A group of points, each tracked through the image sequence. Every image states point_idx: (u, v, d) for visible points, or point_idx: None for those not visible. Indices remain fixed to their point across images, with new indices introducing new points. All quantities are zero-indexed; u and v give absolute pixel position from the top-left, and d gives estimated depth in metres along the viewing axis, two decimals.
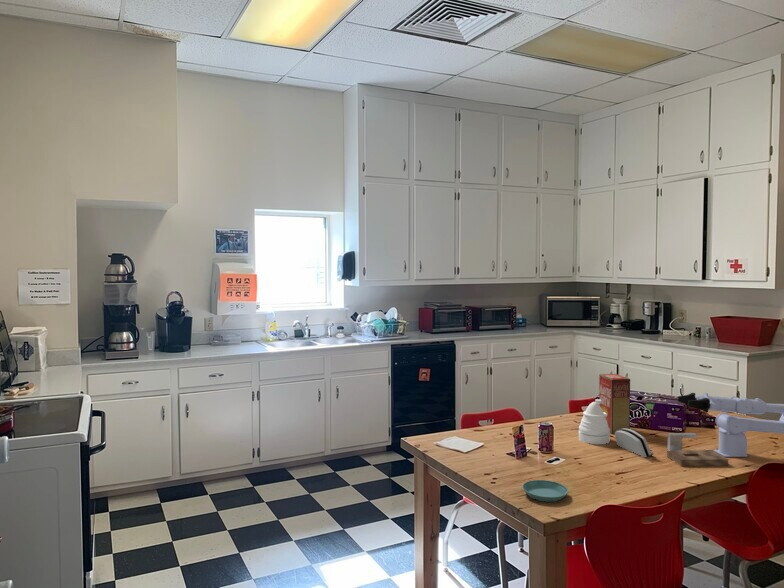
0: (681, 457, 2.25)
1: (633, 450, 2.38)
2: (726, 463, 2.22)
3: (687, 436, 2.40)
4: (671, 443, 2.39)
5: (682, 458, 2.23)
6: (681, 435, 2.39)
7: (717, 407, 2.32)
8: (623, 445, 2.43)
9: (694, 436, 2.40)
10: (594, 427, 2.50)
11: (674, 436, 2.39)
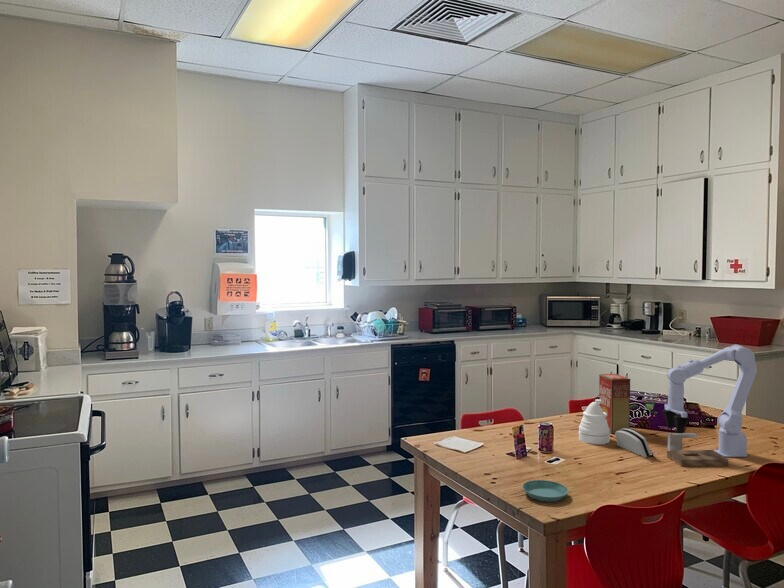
0: (681, 457, 2.25)
1: (633, 450, 2.38)
2: (726, 463, 2.22)
3: (687, 436, 2.39)
4: (671, 443, 2.39)
5: (682, 458, 2.23)
6: (681, 435, 2.39)
7: (681, 401, 2.37)
8: (623, 445, 2.43)
9: (694, 436, 2.40)
10: (594, 427, 2.50)
11: (674, 436, 2.39)
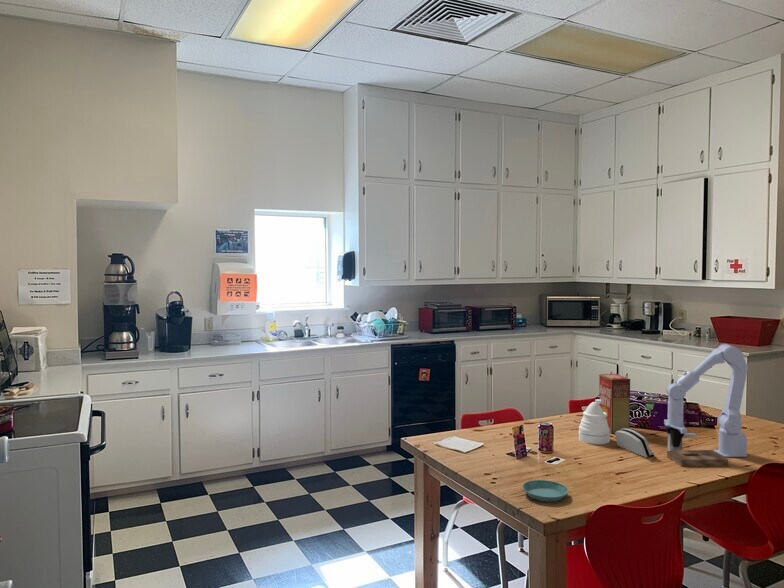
0: (681, 457, 2.25)
1: (633, 450, 2.38)
2: (726, 463, 2.22)
3: (687, 436, 2.39)
4: (671, 443, 2.39)
5: (682, 458, 2.23)
6: None
7: (681, 417, 2.37)
8: (623, 445, 2.43)
9: (694, 436, 2.40)
10: (594, 427, 2.50)
11: None
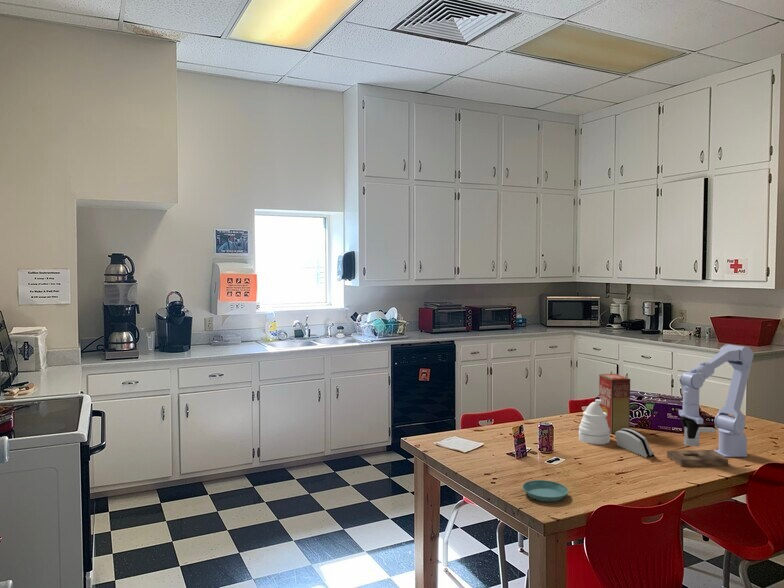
0: (681, 457, 2.25)
1: (633, 450, 2.38)
2: (726, 463, 2.22)
3: (705, 430, 2.28)
4: (688, 437, 2.28)
5: (682, 458, 2.23)
6: (699, 429, 2.28)
7: (696, 407, 2.25)
8: (623, 445, 2.43)
9: (712, 431, 2.28)
10: (594, 427, 2.50)
11: None
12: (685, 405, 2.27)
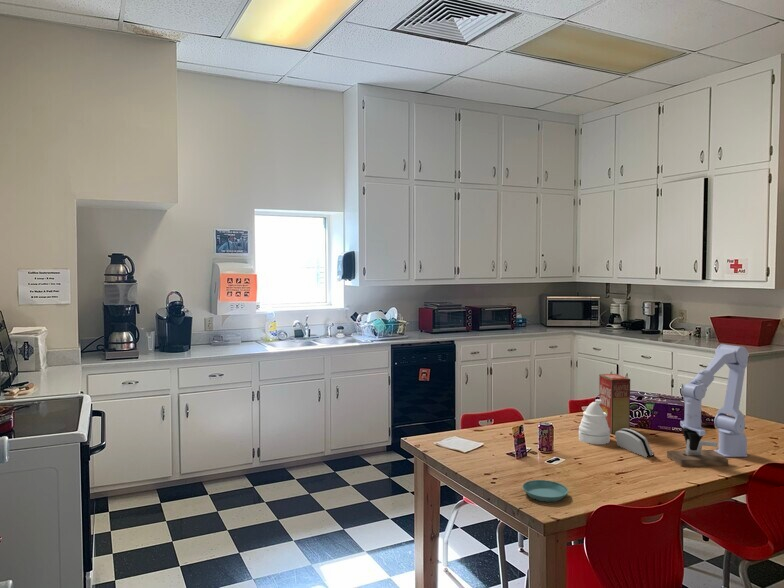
0: (681, 457, 2.25)
1: (634, 450, 2.38)
2: (726, 463, 2.22)
3: (707, 444, 2.26)
4: (690, 449, 2.26)
5: (682, 458, 2.23)
6: (701, 442, 2.26)
7: (698, 418, 2.24)
8: (623, 445, 2.43)
9: (715, 445, 2.27)
10: (594, 427, 2.50)
11: None
12: (687, 417, 2.26)
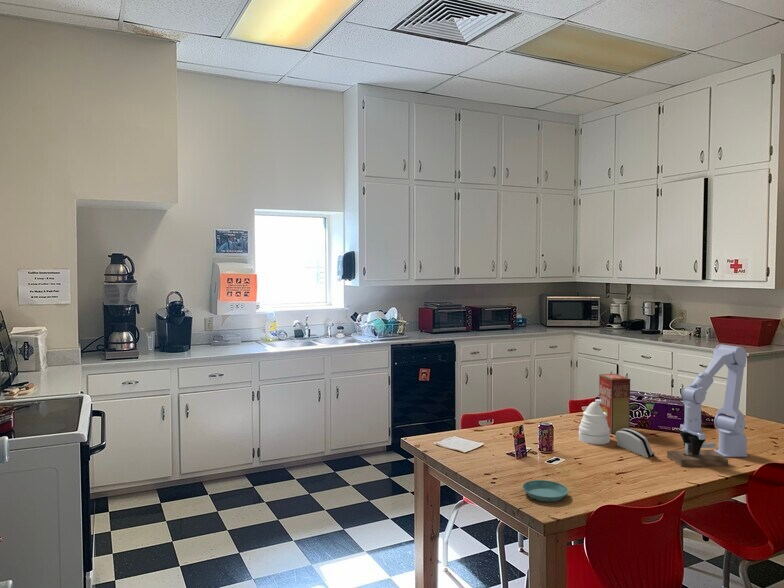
0: (681, 457, 2.25)
1: (634, 450, 2.38)
2: (726, 463, 2.22)
3: (705, 446, 2.27)
4: (689, 453, 2.26)
5: (682, 458, 2.23)
6: None
7: (698, 422, 2.24)
8: (624, 445, 2.43)
9: (713, 446, 2.27)
10: (594, 427, 2.50)
11: None
12: (687, 420, 2.26)
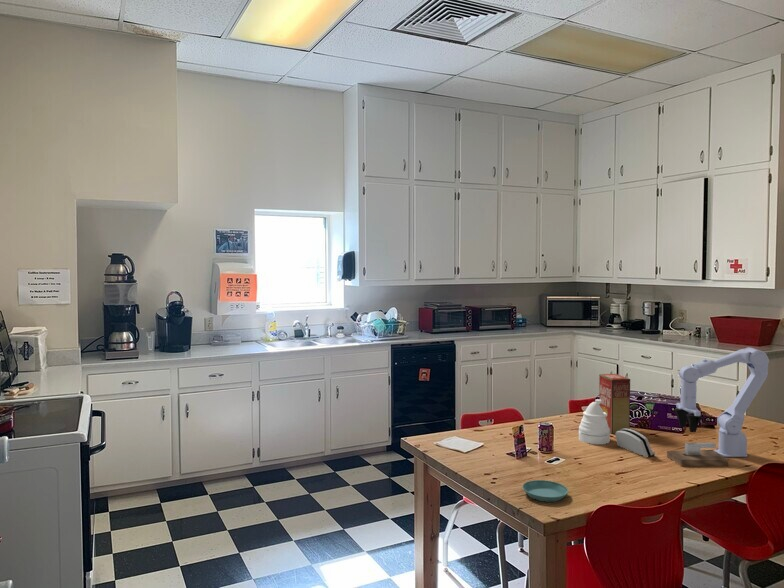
0: (681, 457, 2.25)
1: (634, 450, 2.38)
2: (726, 463, 2.22)
3: (705, 446, 2.27)
4: (689, 453, 2.26)
5: (682, 458, 2.23)
6: (699, 445, 2.26)
7: (694, 400, 2.35)
8: (624, 445, 2.43)
9: (713, 446, 2.27)
10: (594, 427, 2.50)
11: (692, 446, 2.26)
12: (683, 398, 2.37)
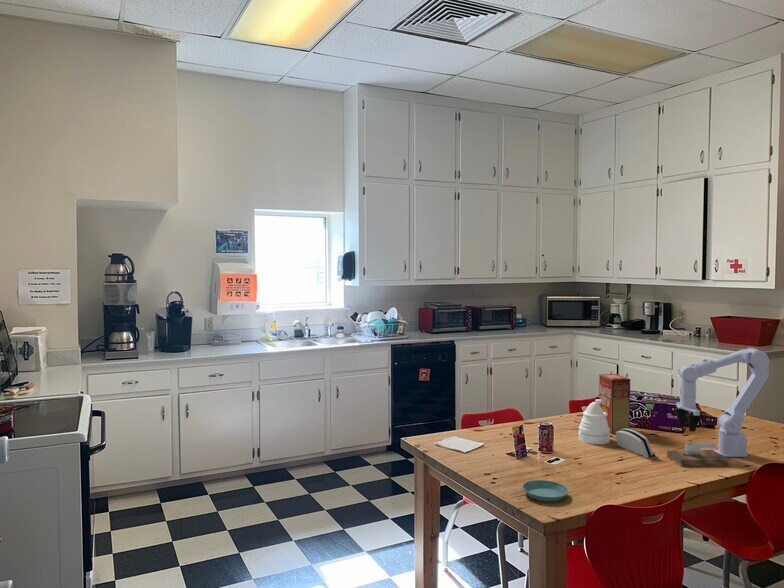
0: (681, 457, 2.25)
1: (634, 450, 2.37)
2: (726, 463, 2.22)
3: (705, 446, 2.27)
4: (689, 453, 2.27)
5: (682, 458, 2.23)
6: (699, 445, 2.26)
7: (693, 399, 2.36)
8: (624, 445, 2.43)
9: (713, 446, 2.27)
10: (594, 427, 2.50)
11: (692, 446, 2.26)
12: (682, 398, 2.38)
